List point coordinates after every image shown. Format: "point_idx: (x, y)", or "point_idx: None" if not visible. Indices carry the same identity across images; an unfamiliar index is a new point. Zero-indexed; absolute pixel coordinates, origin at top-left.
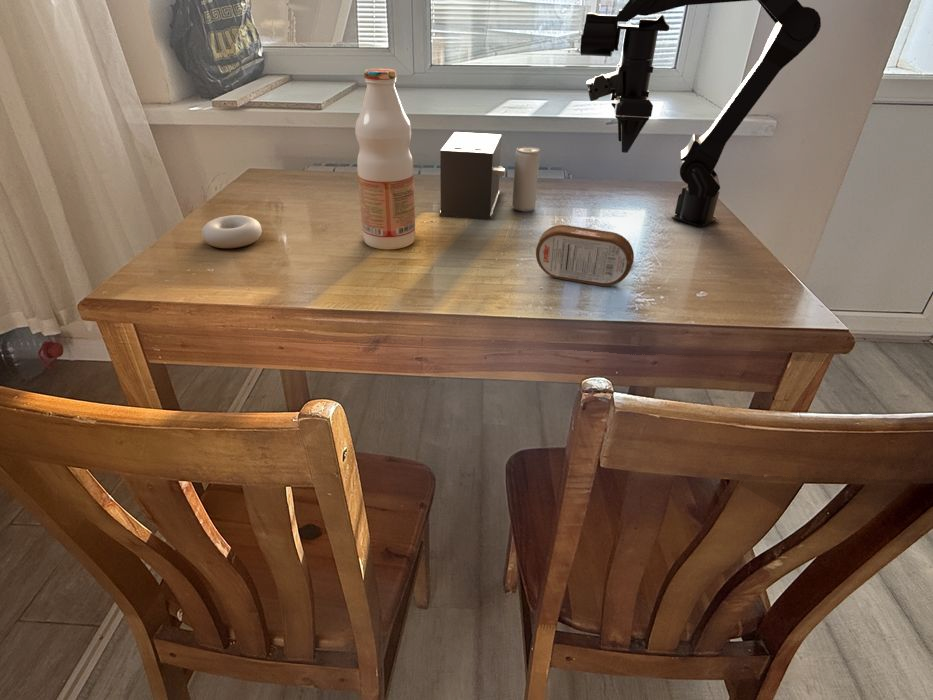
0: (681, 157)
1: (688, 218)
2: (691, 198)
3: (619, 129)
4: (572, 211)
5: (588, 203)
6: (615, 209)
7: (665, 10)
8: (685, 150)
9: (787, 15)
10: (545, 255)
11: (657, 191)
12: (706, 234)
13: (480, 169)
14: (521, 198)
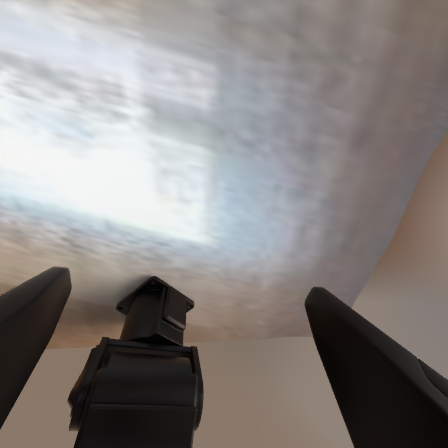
0: (108, 410)
1: (133, 299)
2: (126, 330)
3: (352, 333)
4: (186, 56)
5: (254, 127)
6: (208, 186)
7: None
8: (156, 429)
9: None
10: None
11: (310, 283)
12: (87, 306)
13: None
14: None
